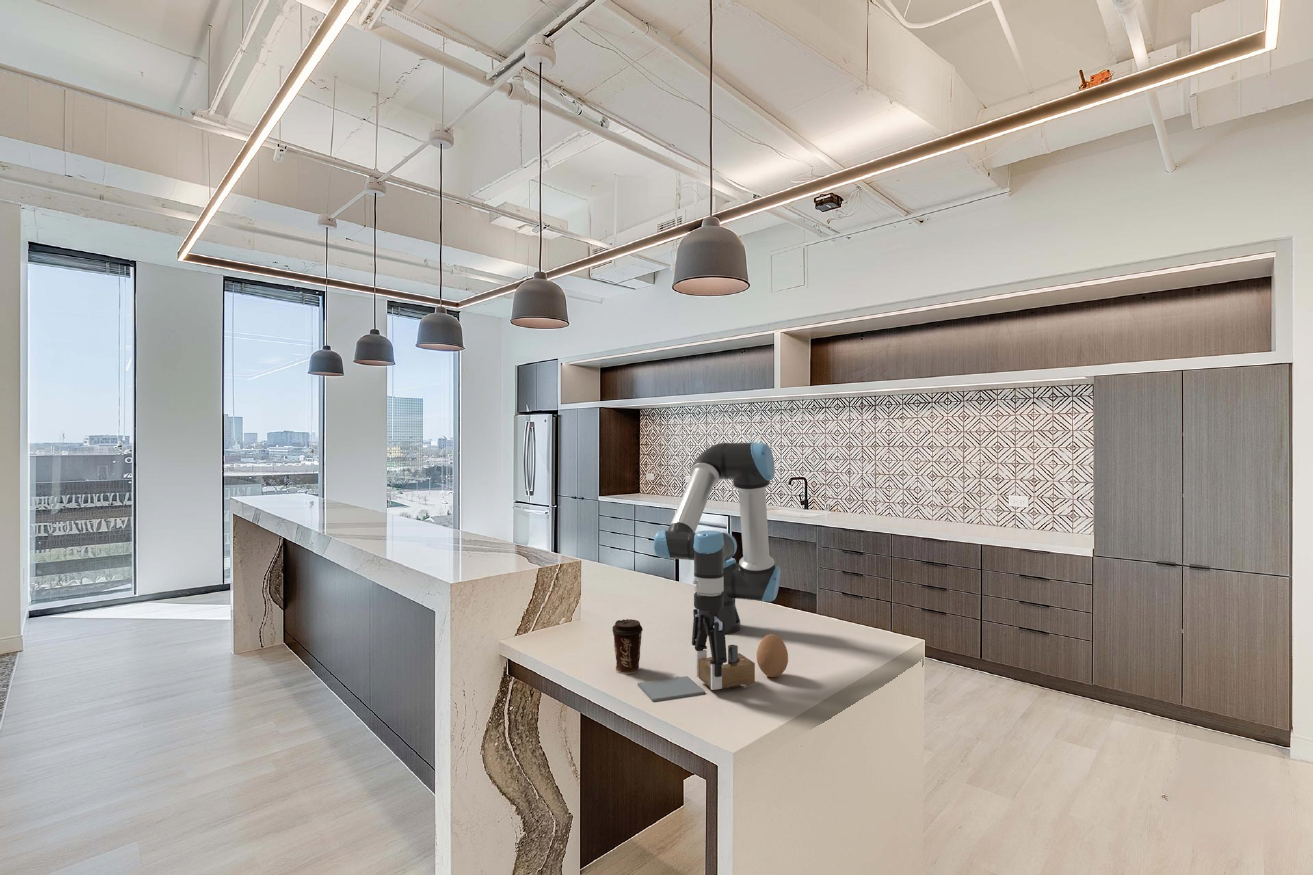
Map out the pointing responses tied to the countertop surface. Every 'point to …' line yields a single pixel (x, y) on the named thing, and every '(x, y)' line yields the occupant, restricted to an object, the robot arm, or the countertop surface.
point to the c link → (729, 672)
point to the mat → (670, 688)
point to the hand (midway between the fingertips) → (708, 681)
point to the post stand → (733, 656)
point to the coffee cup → (627, 645)
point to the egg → (772, 655)
